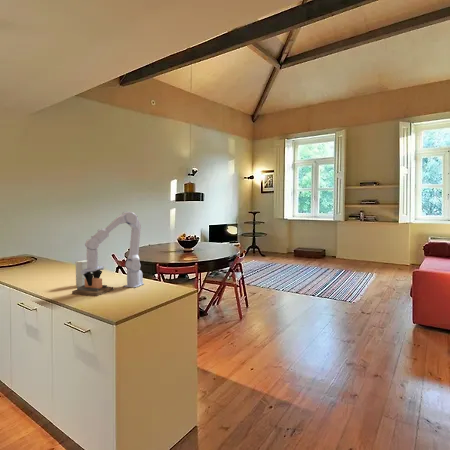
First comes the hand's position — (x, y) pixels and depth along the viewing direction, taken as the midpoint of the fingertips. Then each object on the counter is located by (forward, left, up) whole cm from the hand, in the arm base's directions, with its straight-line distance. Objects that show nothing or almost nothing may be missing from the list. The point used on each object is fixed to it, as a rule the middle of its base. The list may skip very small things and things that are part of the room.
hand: (93, 284), depth 184 cm
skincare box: (-11, -15, -4) cm, 19 cm away
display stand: (0, 0, -4) cm, 4 cm away
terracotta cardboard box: (0, 0, -2) cm, 2 cm away
